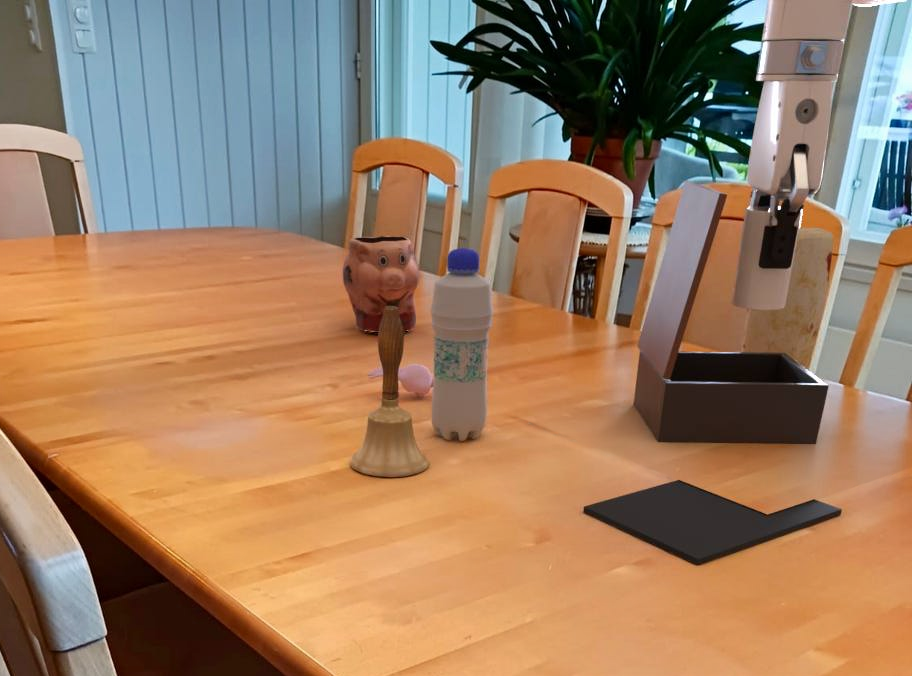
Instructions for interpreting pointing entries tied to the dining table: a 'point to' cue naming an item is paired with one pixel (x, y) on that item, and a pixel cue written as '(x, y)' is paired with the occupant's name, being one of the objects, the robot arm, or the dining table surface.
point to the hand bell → (390, 414)
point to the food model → (795, 303)
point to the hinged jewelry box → (731, 399)
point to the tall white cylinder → (751, 280)
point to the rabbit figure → (410, 378)
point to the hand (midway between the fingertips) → (765, 261)
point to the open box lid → (680, 275)
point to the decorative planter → (381, 279)
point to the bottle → (460, 347)
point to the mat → (702, 520)
